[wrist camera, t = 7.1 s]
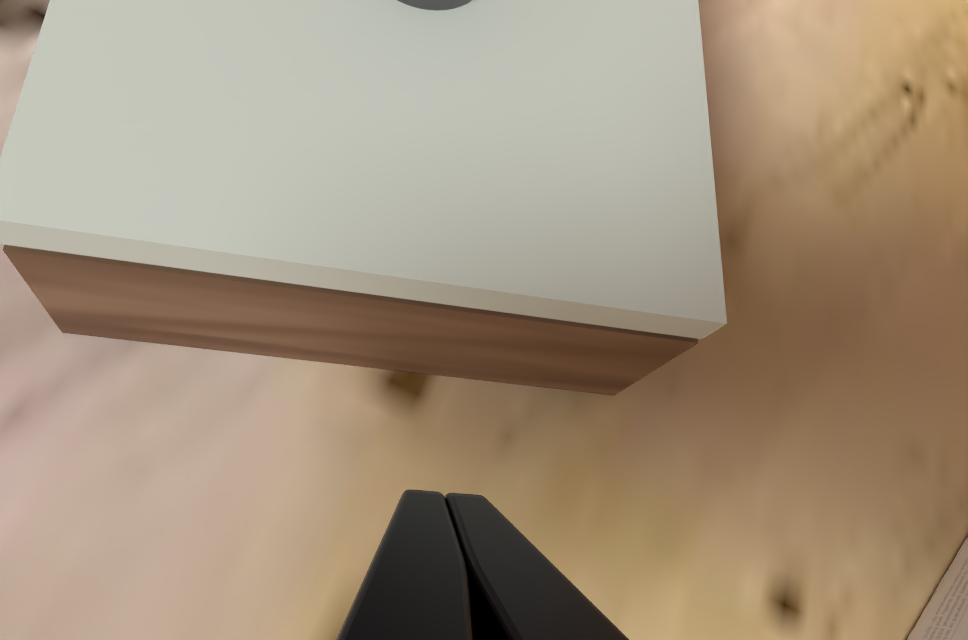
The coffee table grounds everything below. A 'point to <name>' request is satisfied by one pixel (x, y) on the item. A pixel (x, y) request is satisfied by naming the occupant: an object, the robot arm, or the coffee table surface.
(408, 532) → the robot arm
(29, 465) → the coffee table surface
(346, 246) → the box lid
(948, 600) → the supplement box
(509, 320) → the walnut box
